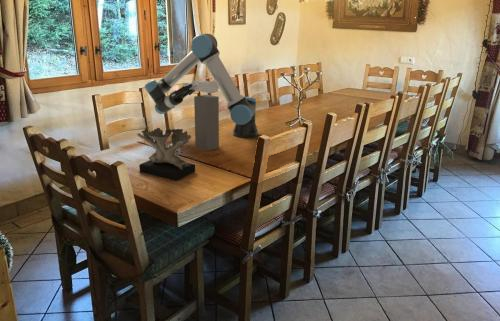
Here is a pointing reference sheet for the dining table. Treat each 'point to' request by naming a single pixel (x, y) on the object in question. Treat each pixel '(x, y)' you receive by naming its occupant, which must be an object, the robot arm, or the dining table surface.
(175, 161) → the coral
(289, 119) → the dining table surface
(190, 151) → the dining table surface
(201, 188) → the dining table surface
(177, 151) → the coral branch
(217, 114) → the stand
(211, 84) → the jaw bar
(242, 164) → the dining table surface
